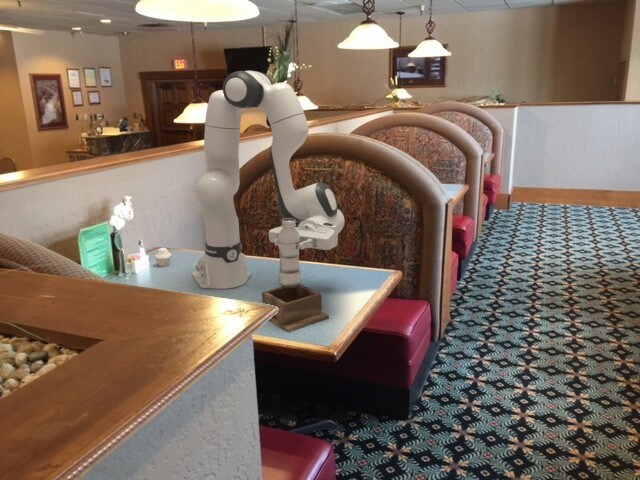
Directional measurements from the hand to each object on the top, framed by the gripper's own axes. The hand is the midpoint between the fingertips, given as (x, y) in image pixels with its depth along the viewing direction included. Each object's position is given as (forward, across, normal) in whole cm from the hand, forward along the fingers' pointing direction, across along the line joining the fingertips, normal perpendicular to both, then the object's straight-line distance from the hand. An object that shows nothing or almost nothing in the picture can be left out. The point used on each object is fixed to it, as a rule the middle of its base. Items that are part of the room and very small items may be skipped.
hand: (287, 244), depth 152 cm
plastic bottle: (-1, 0, +13) cm, 13 cm away
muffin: (-20, -68, +22) cm, 74 cm away
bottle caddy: (-1, 0, +22) cm, 22 cm away
